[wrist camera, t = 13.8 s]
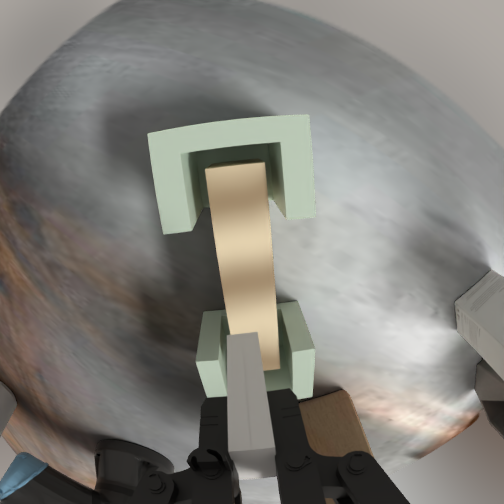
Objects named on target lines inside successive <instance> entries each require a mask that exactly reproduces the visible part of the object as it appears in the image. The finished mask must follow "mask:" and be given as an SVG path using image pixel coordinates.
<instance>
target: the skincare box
mask: <svg viewBox="0 0 504 504" xmlns="http://www.w3.org/2000/svg"><path fill="white" fill-rule="evenodd" d="M455 312H456V322H457V332H458V333H459V334H460V335H461V336H462V337H463V338H464V339H465V340H466V341H467V342H468V343H469V344H470V345H471V346H472V347H473V348H474V349H475V350H476V351H477V352H478V354H479V355H480V356H481V357H482V358H483V359H484V360H485V361H486V362H487V363H488V364H489V365H490V366H491V367H492V368H493V369H494V371H495V372H496V373H497V374H498V375H499V376H500V377H501V378H502V379H503V381H504V277H503V276H501V275H500V274H498V273H496V272H495V271H493V270H491V271H489V272H488V273H487V274H486V275H485V276H484V277H483V278H482V279H481V280H480V281H479V282H478V283H476V284H475V285H474V286H473V287H472V288H471V289H470V290H468V291H467V292H466V293H465V294H464V295H462V296H461V297H460V298H459V299H458V300H456V301H455Z"/></svg>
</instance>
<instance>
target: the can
mask: <svg viewBox="0 0 504 504" xmlns="http://www.w3.org/2000/svg"><path fill="white" fill-rule="evenodd" d="M16 407H17V402H16V398H15V396H14V394H13V393H12V392H11V390H10V389H9V388H8V387H7V386H6V385H5V384H3V383H2V382H1V381H0V436H1V434H2V432H3V430H4V428H5V427H6V425H7V423H8V421H9V419H10V417H11V415H12V414H13V412H14V410H15V408H16Z"/></svg>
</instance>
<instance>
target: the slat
mask: <svg viewBox="0 0 504 504" xmlns="http://www.w3.org/2000/svg"><path fill="white" fill-rule="evenodd" d="M205 173H206V181H207V189H208V196H209V203H210V210H211V217H212V224H213V231H214V238H215V245H216V251H217V258H218V264H219V270H220V276H221V283H222V289H223V295H224V301H225V306H226V312H227V318H228V323H229V329H230V335H234V334H243V333H251V332H258V339H259V345H260V352H261V358H262V365H263V371H266V370H275V369H280V356H279V339H278V323H277V307H276V293H275V279H274V265H273V252H272V239H271V227H270V215H269V203H268V192H267V180H266V170H265V162H263V161H262V160H260V159H258V158H257V159H247V160H238V161H229V162H221V163H213V164H211V165H210V166H208V167H207V168H206V169H205Z"/></svg>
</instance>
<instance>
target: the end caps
mask: <svg viewBox="0 0 504 504" xmlns="http://www.w3.org/2000/svg"><path fill="white" fill-rule="evenodd" d="M147 135H148V144H149V151H150V159H151V166H152V172H153V179H154V185H155V191H156V197H157V203H158V209H159V214H160V219H161V225H162V230H163V235H164V234H172V233H180V232H187V231H192V230H193V228H194V226H195V223H196V221H197V219H198V217H199V215H200V213H201V211H202V209H203V208H207V207H210V203H209V196H208V189H207V181H206V173H205V169H206V168H207V167H208V166H210V165H211V164H213V163H221V162H229V161H238V160H247V159H257V158H258V159H260V160H262V161H263V162H265V170H266V180H267V192H268V200H274V202H275V203H276V205H277V206H278V208H279V209H280V211H281V212H282V214H283V215H284V217H285V218H286V220H293V219H303V218H313V217H316V210H315V188H314V171H313V156H312V143H311V131H310V120H309V115H282V116H266V117H254V118H243V119H233V120H225V121H217V122H209V123H202V124H196V125H190V126H184V127H178V128H172V129H167V130H162V131H157V132H152V133H148V134H147ZM276 307H277V323H278V339H279V356H280V369H275V370H266V371H263V372H264V378H265V385H266V391H273V390H280V389H287V388H290V389H291V390H292V391H293V393H294V394H295V395H296V396H297V399H303V398H309V397H312V395H313V381H314V364H315V346H314V344H313V341H312V338H311V335H310V333H309V330H308V327H307V324H306V322H305V319H304V316H303V314H302V311H301V308H300V306H299V303H298V301H294V302H286V303H279V304H276ZM227 335H230V329H229V323H228V318H227V312H226V309H225V310H215V311H204V312H203V317H202V323H201V329H200V336H199V342H198V349H197V356H196V365H197V368H198V371H199V374H200V377H201V380H202V384H203V387H204V390H205V393H206V396H207V398H208V397H223V396H227Z"/></svg>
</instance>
